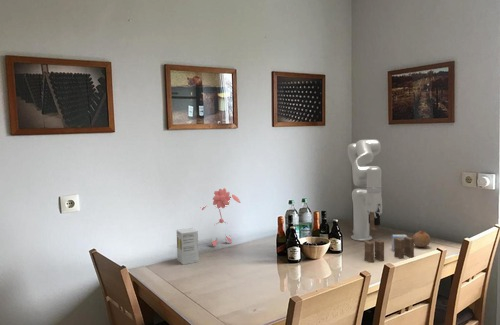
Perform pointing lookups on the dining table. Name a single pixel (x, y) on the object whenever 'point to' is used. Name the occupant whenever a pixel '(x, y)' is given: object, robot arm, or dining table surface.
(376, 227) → the domino
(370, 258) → the domino
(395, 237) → the medicine box
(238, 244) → the dining table surface
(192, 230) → the supplement box
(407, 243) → the domino
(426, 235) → the onion
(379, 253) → the domino
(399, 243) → the domino
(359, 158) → the robot arm
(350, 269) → the dining table surface
